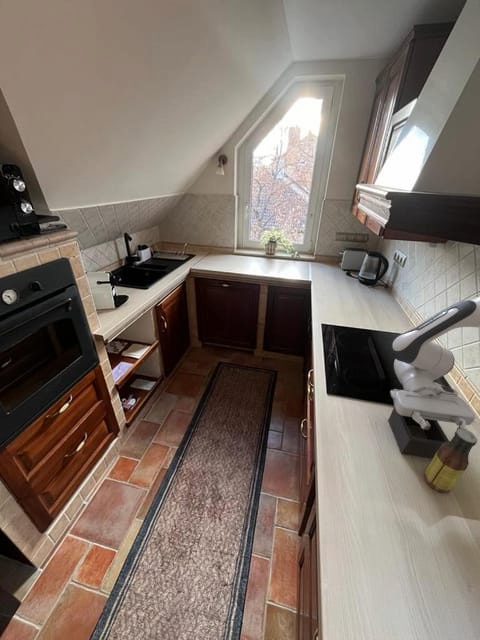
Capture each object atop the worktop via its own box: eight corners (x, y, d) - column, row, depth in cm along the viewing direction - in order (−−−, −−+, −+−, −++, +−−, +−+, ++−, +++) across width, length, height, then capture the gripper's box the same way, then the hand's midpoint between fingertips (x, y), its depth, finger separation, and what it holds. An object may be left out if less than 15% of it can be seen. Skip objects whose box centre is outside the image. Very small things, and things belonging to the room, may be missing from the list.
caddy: (423, 425, 86) (431, 411, 83) (441, 460, 76) (452, 446, 72) (387, 420, 88) (394, 406, 84) (401, 453, 77) (409, 439, 74)
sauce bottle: (455, 488, 69) (493, 444, 59) (439, 498, 67) (476, 453, 57) (431, 466, 74) (463, 421, 64) (416, 474, 72) (447, 429, 62)
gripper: (391, 381, 81) (408, 417, 69) (461, 390, 78) (492, 429, 66) (385, 395, 84) (400, 431, 72) (452, 404, 81) (480, 444, 69)
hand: (445, 430), depth 69 cm, fingers open, 8 cm apart
